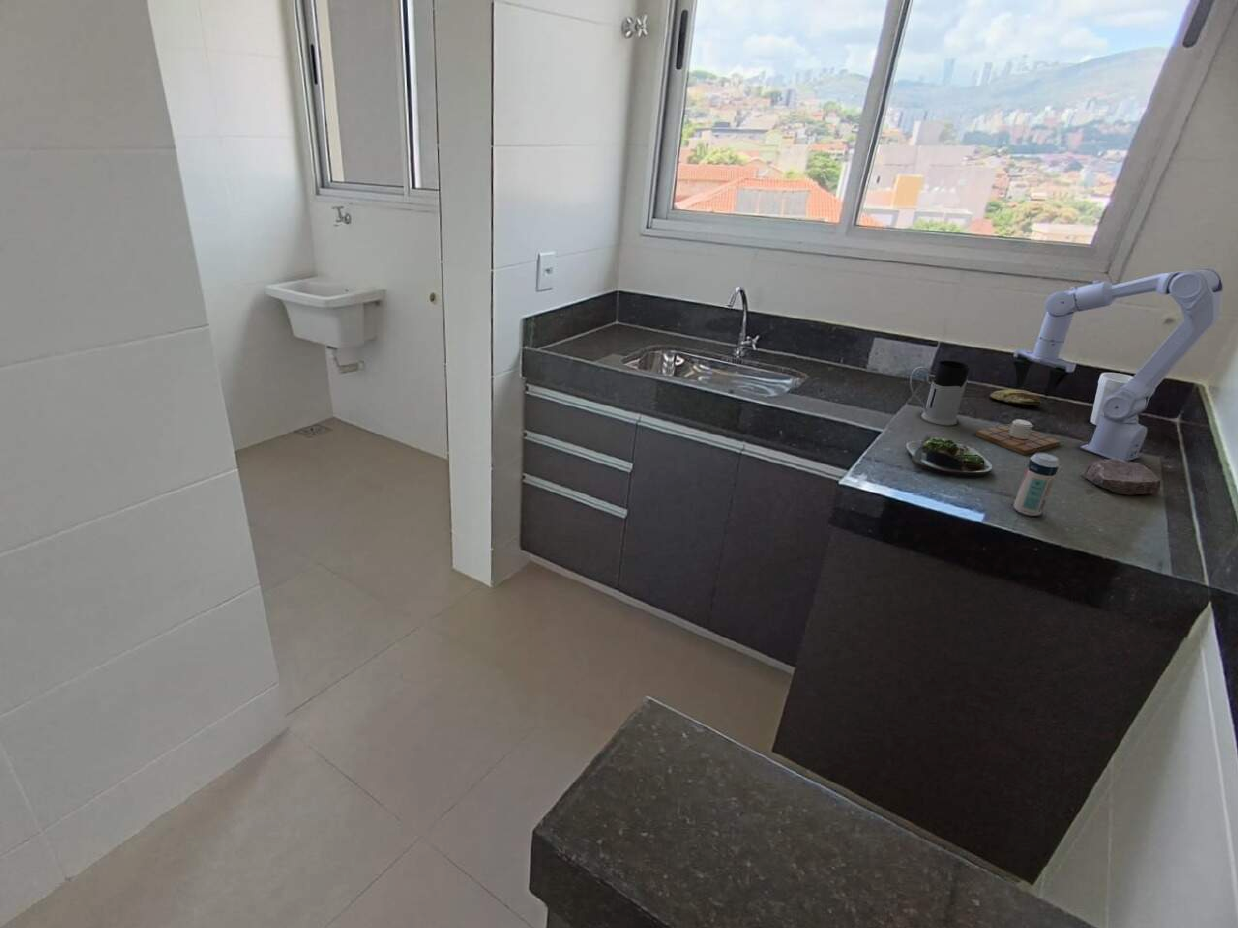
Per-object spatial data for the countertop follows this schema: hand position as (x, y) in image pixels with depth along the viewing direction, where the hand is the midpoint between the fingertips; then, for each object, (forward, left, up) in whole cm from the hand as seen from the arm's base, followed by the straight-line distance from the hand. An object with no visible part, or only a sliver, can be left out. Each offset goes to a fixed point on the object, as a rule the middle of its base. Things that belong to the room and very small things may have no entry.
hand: (1033, 390), depth 171 cm
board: (-7, +12, -9) cm, 17 cm away
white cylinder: (-6, +12, -8) cm, 16 cm away
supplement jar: (-30, +47, -10) cm, 57 cm away
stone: (-32, +16, -10) cm, 37 cm away
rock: (+12, -16, -10) cm, 22 cm away
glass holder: (+13, +21, -10) cm, 26 cm away
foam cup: (-9, -23, -10) cm, 27 cm away
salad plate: (-8, +42, -10) cm, 44 cm away
